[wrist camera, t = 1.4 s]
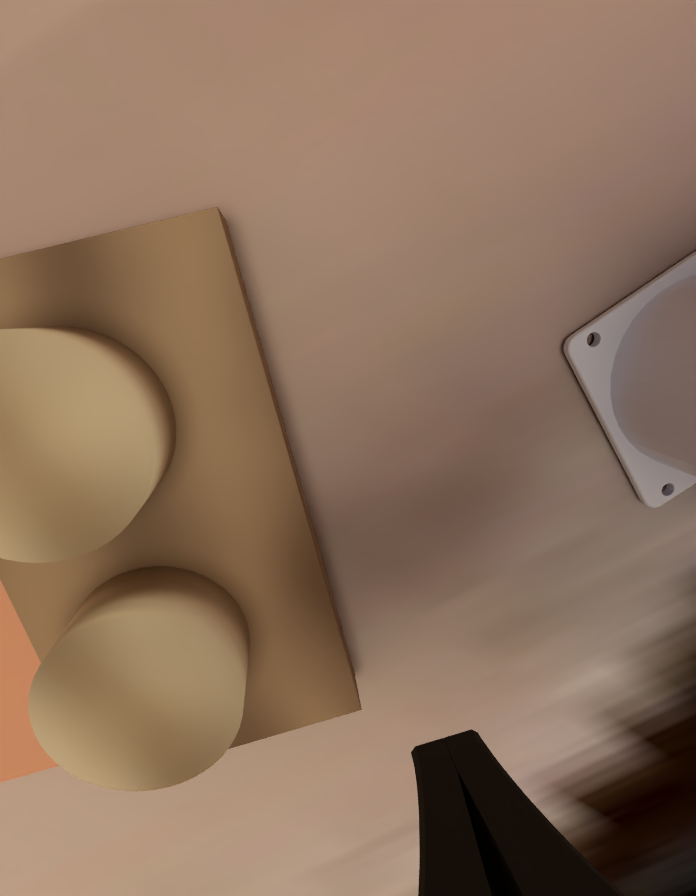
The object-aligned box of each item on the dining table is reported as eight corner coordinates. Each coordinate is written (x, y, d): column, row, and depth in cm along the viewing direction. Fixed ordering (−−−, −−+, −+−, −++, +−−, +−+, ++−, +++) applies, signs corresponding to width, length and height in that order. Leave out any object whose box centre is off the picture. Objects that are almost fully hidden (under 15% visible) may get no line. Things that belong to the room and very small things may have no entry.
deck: (225, 219, 16) (217, 206, 15) (354, 674, 21) (361, 709, 20) (-89, 294, 16) (-140, 292, 14) (118, 742, 21) (101, 786, 19)
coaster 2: (177, 532, 17) (155, 578, 14) (283, 656, 19) (283, 719, 16) (31, 631, 17) (-20, 696, 14) (149, 744, 19) (124, 823, 16)
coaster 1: (85, 284, 15) (36, 277, 12) (215, 449, 16) (201, 478, 13) (-80, 403, 15) (-167, 424, 12) (64, 553, 17) (18, 604, 14)
